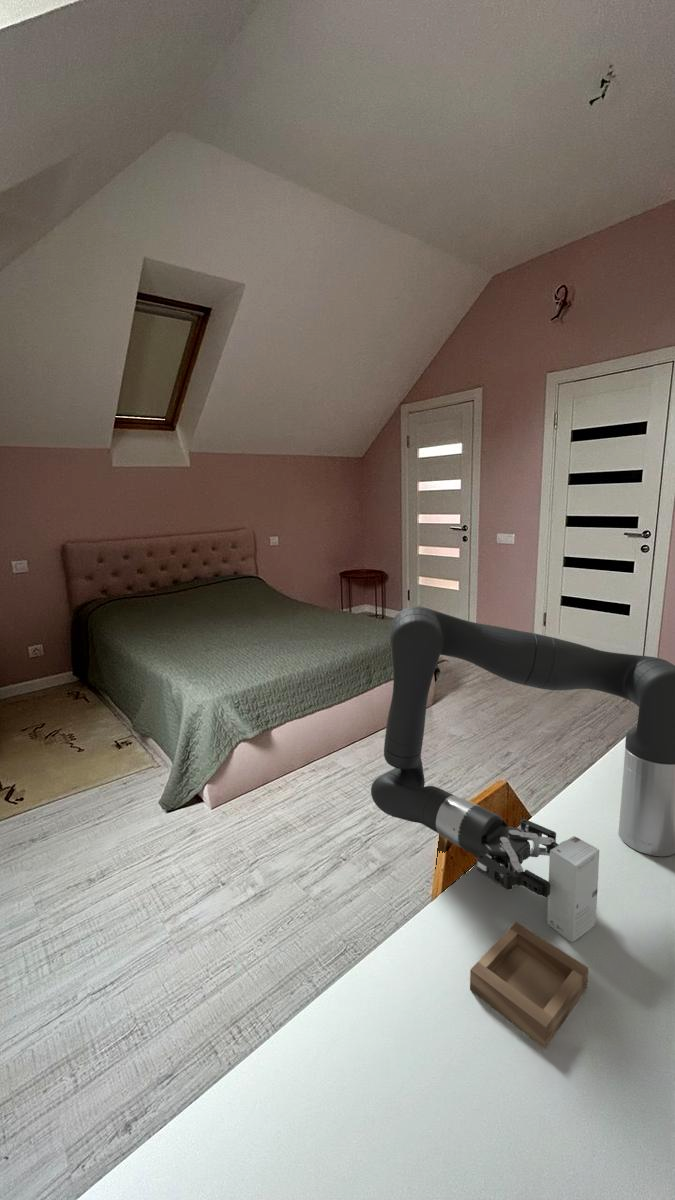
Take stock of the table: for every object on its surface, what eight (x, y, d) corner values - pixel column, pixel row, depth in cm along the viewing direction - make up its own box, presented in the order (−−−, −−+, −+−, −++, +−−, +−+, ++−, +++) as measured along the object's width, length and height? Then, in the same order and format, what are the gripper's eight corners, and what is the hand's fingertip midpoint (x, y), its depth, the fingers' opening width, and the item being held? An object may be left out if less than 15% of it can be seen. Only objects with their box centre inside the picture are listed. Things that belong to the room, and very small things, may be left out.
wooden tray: (515, 939, 73) (516, 921, 72) (587, 987, 66) (588, 967, 65) (470, 989, 66) (470, 969, 65) (544, 1049, 58) (545, 1027, 58)
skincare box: (572, 944, 72) (577, 868, 70) (544, 923, 76) (548, 850, 73) (597, 923, 75) (602, 850, 73) (569, 904, 79) (573, 833, 77)
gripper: (443, 824, 82) (540, 877, 70) (493, 790, 91) (586, 831, 79) (443, 866, 83) (538, 925, 71) (492, 827, 93) (584, 874, 80)
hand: (563, 875), depth 75 cm, fingers open, 8 cm apart
